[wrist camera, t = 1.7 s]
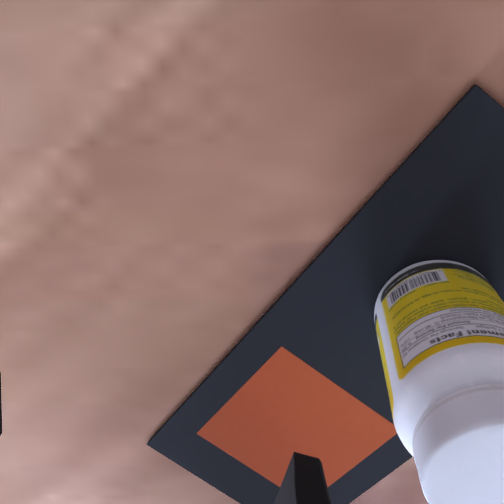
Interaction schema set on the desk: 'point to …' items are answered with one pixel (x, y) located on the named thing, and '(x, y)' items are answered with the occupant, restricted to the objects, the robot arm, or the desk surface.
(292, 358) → the place mat
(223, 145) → the desk surface
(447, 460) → the supplement bottle
